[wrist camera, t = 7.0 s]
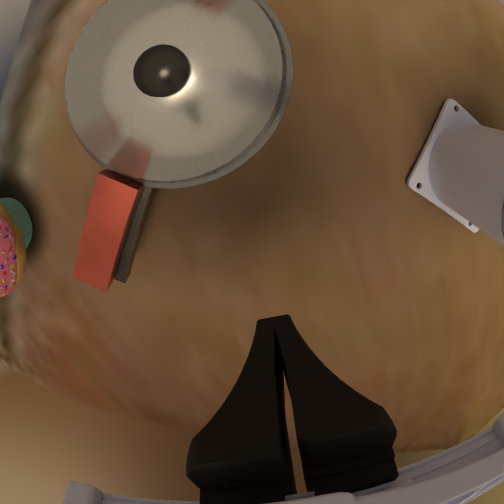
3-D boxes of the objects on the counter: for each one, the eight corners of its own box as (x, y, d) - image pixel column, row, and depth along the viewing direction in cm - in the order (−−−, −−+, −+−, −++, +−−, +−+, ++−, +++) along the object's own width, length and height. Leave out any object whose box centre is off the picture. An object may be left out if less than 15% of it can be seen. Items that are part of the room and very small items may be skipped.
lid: (165, -85, 8) (159, -100, 7) (348, -21, 11) (359, -31, 10) (29, 241, 17) (15, 253, 16) (173, 307, 20) (169, 325, 18)
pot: (332, -3, 15) (352, -21, 11) (201, 277, 24) (195, 309, 20) (159, -58, 12) (145, -83, 8) (56, 222, 21) (30, 244, 18)
